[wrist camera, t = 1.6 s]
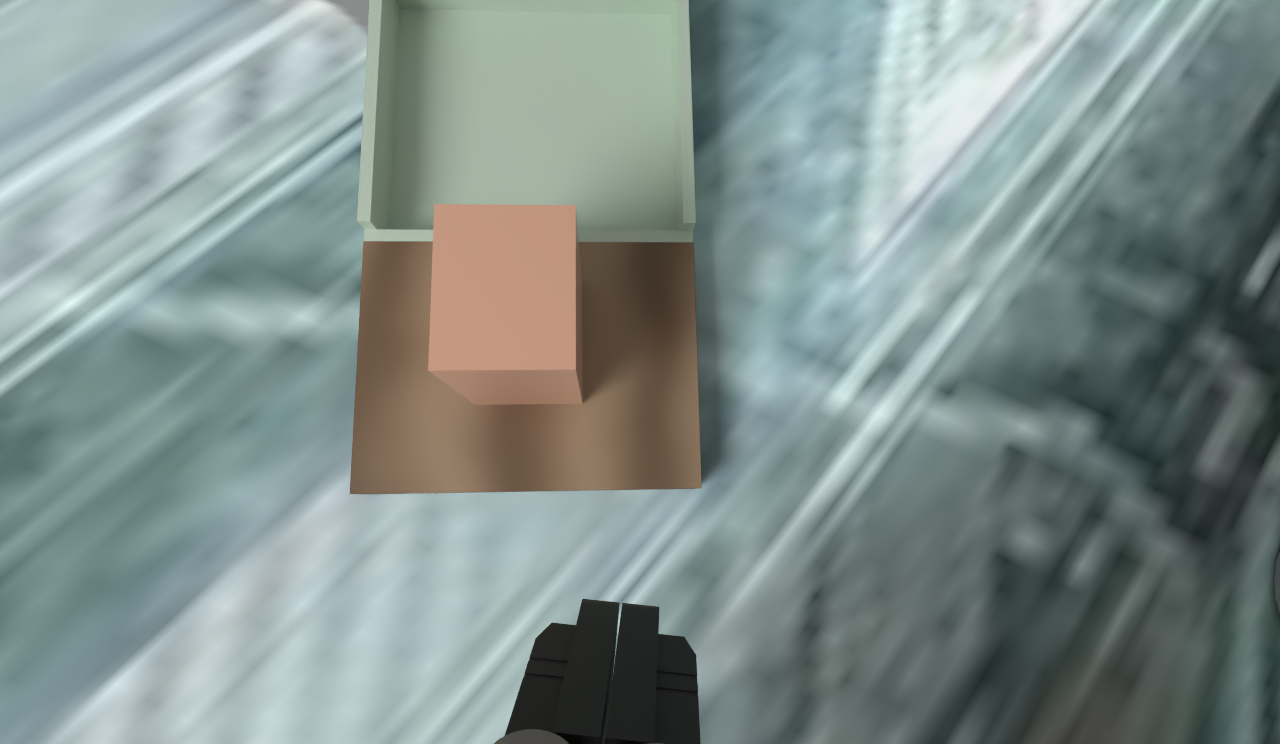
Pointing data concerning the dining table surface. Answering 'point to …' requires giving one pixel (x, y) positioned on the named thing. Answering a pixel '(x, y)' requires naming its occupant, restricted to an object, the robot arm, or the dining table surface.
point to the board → (533, 433)
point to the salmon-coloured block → (507, 303)
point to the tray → (529, 114)
